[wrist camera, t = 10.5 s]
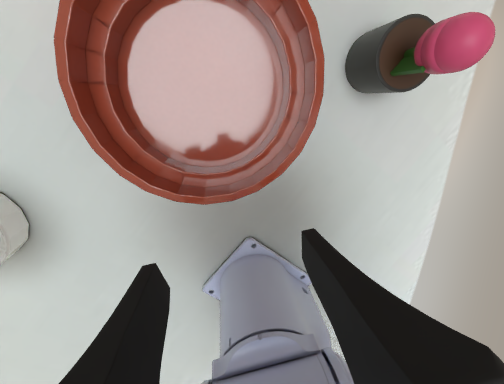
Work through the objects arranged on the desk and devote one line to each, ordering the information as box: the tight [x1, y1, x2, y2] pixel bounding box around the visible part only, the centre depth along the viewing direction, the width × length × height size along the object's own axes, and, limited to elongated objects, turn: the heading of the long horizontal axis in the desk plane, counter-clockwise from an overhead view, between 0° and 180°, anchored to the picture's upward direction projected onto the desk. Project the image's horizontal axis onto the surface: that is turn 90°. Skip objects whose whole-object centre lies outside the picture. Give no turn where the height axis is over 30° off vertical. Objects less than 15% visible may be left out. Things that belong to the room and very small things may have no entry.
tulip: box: [346, 12, 495, 93], centre depth 15 cm, size 4×4×9 cm
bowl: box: [54, 0, 324, 205], centre depth 16 cm, size 15×15×4 cm
